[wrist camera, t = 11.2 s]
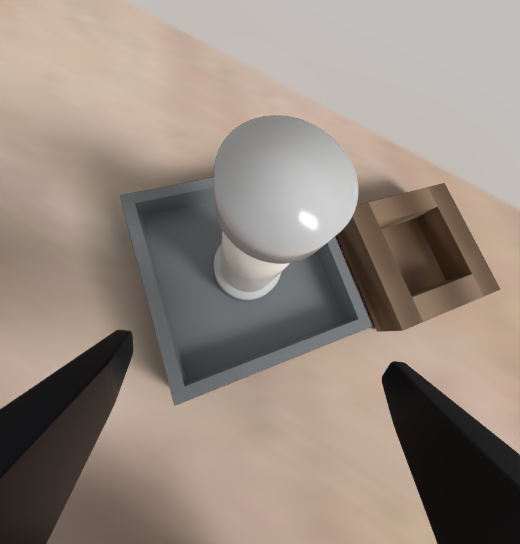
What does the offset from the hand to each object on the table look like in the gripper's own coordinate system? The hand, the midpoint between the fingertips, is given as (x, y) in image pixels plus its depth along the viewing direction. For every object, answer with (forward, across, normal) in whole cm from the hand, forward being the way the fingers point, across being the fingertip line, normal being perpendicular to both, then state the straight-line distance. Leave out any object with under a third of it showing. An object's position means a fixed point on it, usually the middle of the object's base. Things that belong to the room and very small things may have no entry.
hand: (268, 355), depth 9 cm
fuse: (+11, 0, +3) cm, 11 cm away
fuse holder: (+14, -14, +1) cm, 20 cm away
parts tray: (+12, 0, +4) cm, 12 cm away
